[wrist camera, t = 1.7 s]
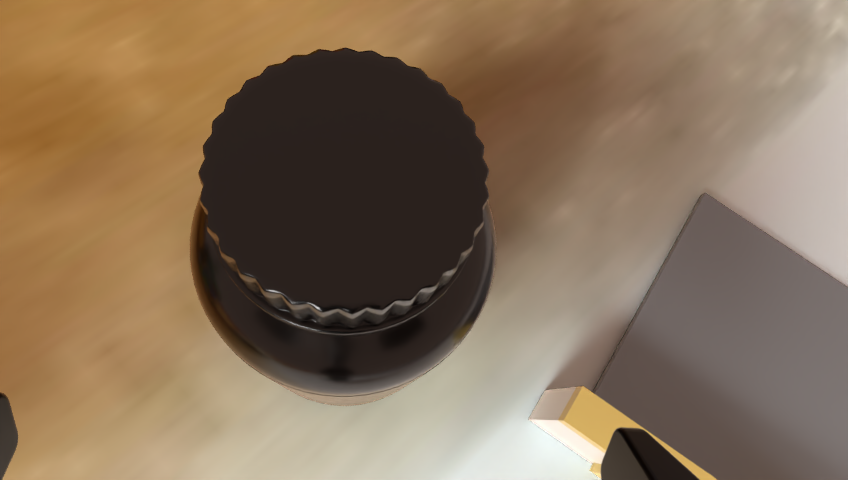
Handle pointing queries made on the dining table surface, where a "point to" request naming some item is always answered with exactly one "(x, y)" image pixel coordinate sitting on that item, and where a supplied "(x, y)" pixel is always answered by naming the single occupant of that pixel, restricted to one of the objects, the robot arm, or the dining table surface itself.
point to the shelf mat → (738, 355)
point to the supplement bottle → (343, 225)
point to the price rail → (590, 425)
